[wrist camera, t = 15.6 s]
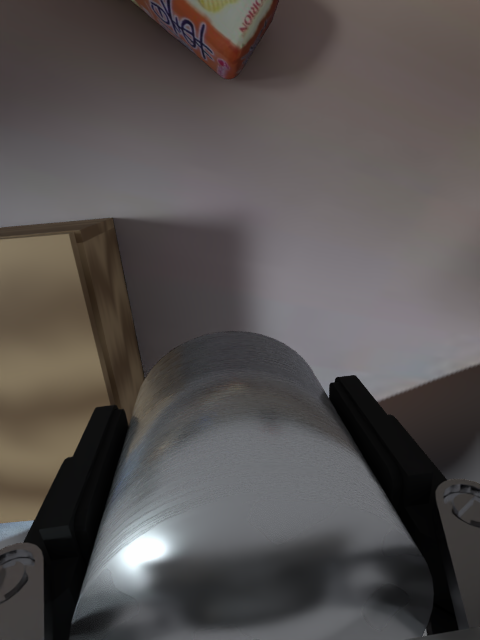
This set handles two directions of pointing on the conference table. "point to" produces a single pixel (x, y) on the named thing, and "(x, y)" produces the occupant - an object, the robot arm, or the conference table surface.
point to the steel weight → (247, 512)
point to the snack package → (215, 28)
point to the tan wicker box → (103, 300)
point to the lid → (44, 366)
